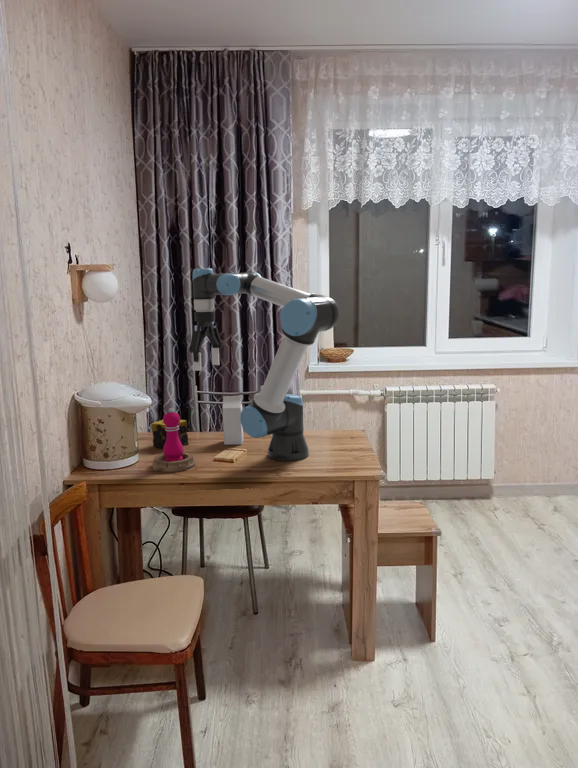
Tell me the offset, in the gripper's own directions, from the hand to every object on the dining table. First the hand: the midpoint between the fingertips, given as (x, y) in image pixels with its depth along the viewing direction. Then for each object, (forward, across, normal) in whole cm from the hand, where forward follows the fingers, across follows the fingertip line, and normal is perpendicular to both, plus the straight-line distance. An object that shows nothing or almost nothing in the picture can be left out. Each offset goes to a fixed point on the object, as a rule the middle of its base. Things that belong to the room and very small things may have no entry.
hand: (207, 367), depth 255 cm
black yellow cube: (+33, -3, -20) cm, 39 cm away
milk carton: (+33, -15, +2) cm, 36 cm away
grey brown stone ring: (+33, +20, -4) cm, 39 cm away
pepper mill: (+32, +20, -4) cm, 38 cm away
